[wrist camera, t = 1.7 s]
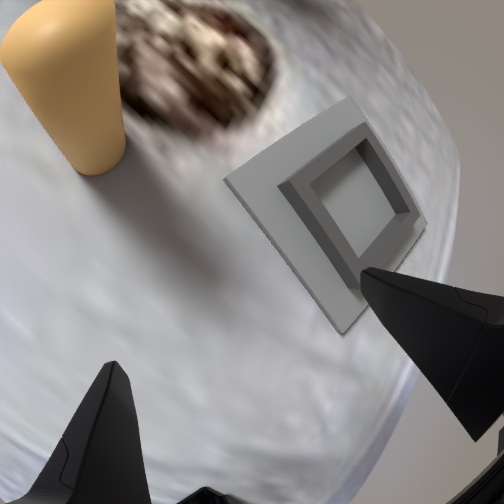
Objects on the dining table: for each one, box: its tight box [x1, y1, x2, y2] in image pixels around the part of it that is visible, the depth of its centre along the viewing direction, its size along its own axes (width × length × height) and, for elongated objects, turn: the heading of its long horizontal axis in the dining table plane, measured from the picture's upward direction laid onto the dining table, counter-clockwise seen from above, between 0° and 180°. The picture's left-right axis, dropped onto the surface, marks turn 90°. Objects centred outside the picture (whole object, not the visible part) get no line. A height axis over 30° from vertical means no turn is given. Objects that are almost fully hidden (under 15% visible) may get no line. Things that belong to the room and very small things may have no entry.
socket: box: [223, 96, 427, 334], centre depth 24 cm, size 16×16×3 cm
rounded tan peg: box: [0, 0, 126, 176], centre depth 12 cm, size 5×5×13 cm
